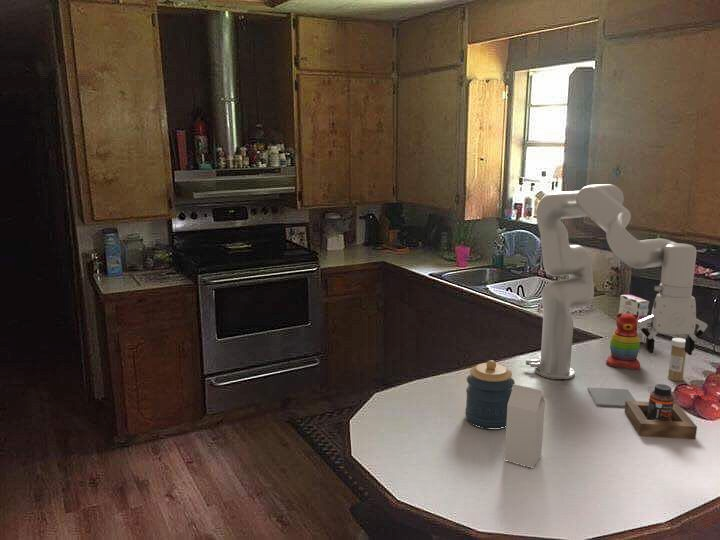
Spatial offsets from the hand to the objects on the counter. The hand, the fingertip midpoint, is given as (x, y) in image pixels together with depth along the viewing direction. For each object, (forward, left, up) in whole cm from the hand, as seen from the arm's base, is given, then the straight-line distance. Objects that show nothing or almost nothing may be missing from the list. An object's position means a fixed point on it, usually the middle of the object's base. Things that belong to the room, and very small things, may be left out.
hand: (668, 352), depth 164 cm
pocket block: (-1, -1, -21) cm, 21 cm away
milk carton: (-40, -24, -21) cm, 51 cm away
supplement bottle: (-1, -1, -21) cm, 21 cm away
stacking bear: (+2, +45, -21) cm, 50 cm away
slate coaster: (-9, +15, -21) cm, 27 cm away
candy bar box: (+12, +72, -21) cm, 76 cm away
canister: (-47, -4, -21) cm, 51 cm away
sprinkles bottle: (+15, +33, -21) cm, 42 cm away
